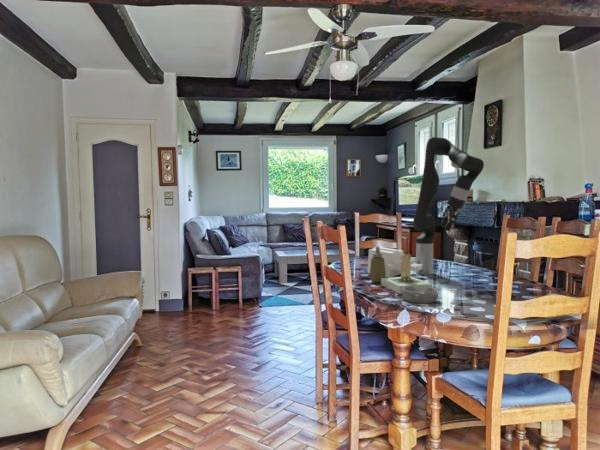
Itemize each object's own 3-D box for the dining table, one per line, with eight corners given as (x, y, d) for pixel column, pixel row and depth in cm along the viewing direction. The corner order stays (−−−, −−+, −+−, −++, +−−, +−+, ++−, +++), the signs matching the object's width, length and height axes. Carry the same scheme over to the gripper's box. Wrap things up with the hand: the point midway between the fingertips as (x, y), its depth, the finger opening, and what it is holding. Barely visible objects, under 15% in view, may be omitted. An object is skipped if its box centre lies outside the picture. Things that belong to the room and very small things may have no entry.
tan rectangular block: (399, 287, 202) (399, 253, 201) (407, 287, 203) (407, 253, 202) (403, 289, 198) (403, 255, 197) (412, 288, 199) (412, 254, 198)
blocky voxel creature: (407, 285, 216) (360, 275, 234) (428, 278, 234) (383, 269, 253) (409, 256, 214) (362, 248, 232) (430, 251, 233) (385, 244, 251)
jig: (381, 285, 208) (381, 277, 208) (411, 283, 212) (411, 275, 212) (399, 293, 189) (399, 285, 189) (431, 291, 192) (432, 283, 192)
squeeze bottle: (388, 281, 218) (388, 246, 217) (380, 283, 212) (380, 247, 211) (375, 279, 223) (375, 245, 222) (366, 281, 217) (366, 246, 216)
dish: (399, 296, 184) (399, 285, 184) (431, 296, 184) (431, 285, 183) (406, 305, 170) (406, 292, 169) (441, 304, 169) (442, 292, 169)
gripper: (447, 192, 210) (434, 222, 214) (454, 197, 196) (440, 229, 201) (461, 197, 210) (449, 227, 214) (469, 202, 196) (455, 234, 200)
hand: (444, 228), depth 207 cm, fingers open, 8 cm apart
